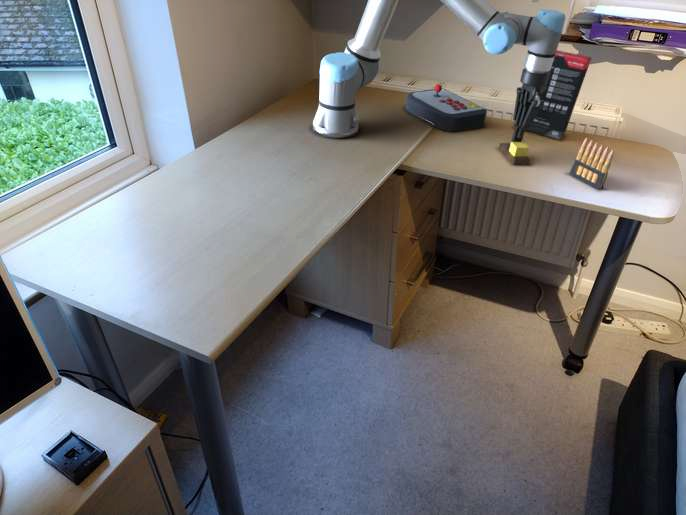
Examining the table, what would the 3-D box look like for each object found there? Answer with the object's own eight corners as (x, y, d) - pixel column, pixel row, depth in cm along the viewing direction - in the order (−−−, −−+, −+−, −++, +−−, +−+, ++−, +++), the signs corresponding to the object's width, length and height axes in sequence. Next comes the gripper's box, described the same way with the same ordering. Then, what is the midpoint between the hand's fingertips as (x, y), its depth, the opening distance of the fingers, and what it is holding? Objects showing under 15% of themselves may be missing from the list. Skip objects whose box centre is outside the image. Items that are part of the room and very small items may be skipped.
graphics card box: (565, 135, 179) (593, 55, 163) (561, 141, 174) (588, 59, 158) (518, 123, 186) (540, 45, 170) (512, 128, 181) (534, 48, 165)
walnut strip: (498, 148, 166) (500, 142, 165) (512, 148, 167) (514, 142, 165) (513, 165, 156) (515, 159, 155) (528, 164, 157) (530, 159, 156)
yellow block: (508, 150, 160) (511, 141, 158) (521, 150, 161) (523, 141, 159) (514, 156, 157) (516, 147, 155) (526, 156, 157) (529, 147, 155)
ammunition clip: (602, 188, 147) (618, 150, 140) (598, 190, 146) (614, 151, 139) (572, 173, 154) (586, 135, 147) (568, 174, 153) (582, 136, 146)
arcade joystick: (398, 107, 192) (401, 80, 186) (437, 101, 200) (442, 75, 194) (445, 134, 173) (451, 105, 167) (487, 126, 181) (493, 98, 175)
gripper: (559, 77, 141) (535, 155, 155) (538, 63, 152) (517, 137, 166) (534, 76, 140) (512, 155, 154) (515, 63, 151) (496, 137, 165)
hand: (515, 146), depth 160 cm, fingers closed
